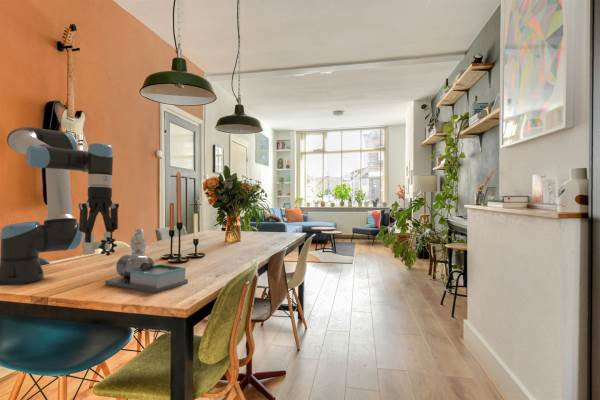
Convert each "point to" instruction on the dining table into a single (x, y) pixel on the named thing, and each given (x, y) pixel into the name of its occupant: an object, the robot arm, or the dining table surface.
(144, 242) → the plastic bottle
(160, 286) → the motor stand
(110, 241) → the valve
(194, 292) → the dining table surface
